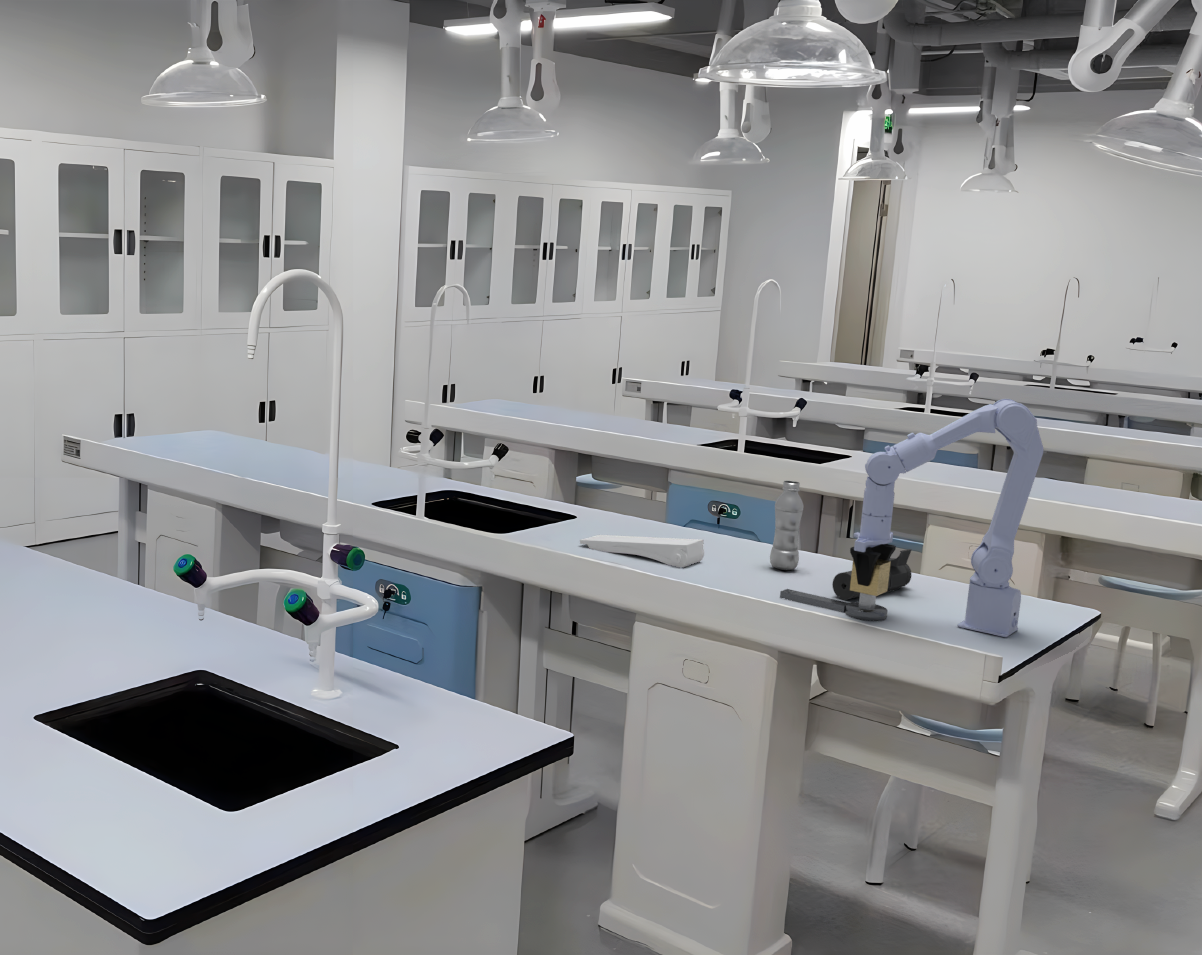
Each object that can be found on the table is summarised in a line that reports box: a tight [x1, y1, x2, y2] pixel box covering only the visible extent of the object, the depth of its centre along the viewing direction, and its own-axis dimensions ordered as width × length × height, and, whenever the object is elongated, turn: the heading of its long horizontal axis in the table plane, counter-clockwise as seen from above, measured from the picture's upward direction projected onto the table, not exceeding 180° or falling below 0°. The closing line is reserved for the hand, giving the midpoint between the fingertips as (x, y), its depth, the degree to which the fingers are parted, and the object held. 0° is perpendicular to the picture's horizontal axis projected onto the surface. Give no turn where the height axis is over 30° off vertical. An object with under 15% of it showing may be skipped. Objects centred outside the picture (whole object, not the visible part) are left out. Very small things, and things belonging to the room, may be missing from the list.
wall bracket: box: [579, 534, 705, 568], centre depth 268 cm, size 10×7×28 cm
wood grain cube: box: [850, 559, 891, 597], centre depth 228 cm, size 6×6×6 cm
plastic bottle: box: [769, 480, 805, 571], centre depth 261 cm, size 6×7×20 cm
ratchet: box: [779, 588, 888, 622], centre depth 232 cm, size 22×8×5 cm, turn 55°
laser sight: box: [832, 548, 912, 601], centre depth 247 cm, size 10×22×10 cm, turn 135°
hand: (869, 582), depth 228 cm, fingers closed on wood grain cube, 5 cm apart
